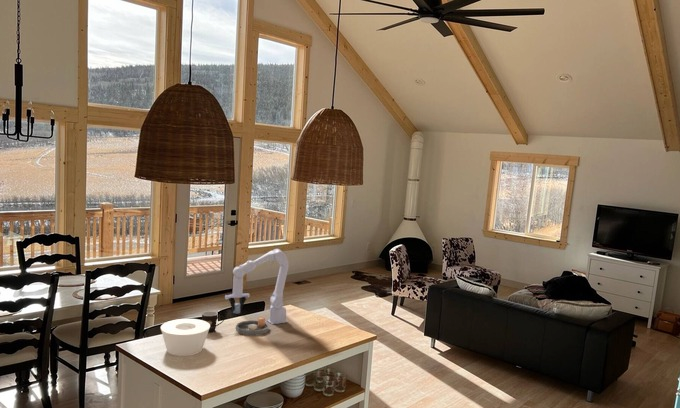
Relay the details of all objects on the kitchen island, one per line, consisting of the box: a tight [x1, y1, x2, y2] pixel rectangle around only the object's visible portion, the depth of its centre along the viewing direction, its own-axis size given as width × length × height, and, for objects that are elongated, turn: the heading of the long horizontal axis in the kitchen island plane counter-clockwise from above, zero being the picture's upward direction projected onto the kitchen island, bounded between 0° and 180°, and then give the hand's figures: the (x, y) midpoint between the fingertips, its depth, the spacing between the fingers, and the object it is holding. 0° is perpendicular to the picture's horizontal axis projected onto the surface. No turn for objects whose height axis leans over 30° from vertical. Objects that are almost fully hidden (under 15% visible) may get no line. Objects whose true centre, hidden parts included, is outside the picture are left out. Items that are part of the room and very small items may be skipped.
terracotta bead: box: [257, 317, 266, 328], centre depth 297 cm, size 4×4×5 cm
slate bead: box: [232, 302, 241, 314], centre depth 302 cm, size 4×4×5 cm
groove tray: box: [235, 320, 270, 337], centre depth 295 cm, size 18×18×2 cm
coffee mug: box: [201, 310, 225, 334], centre depth 288 cm, size 12×9×10 cm
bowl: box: [160, 318, 210, 357], centre depth 261 cm, size 24×24×12 cm
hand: (236, 310), depth 303 cm, fingers closed on slate bead, 4 cm apart
